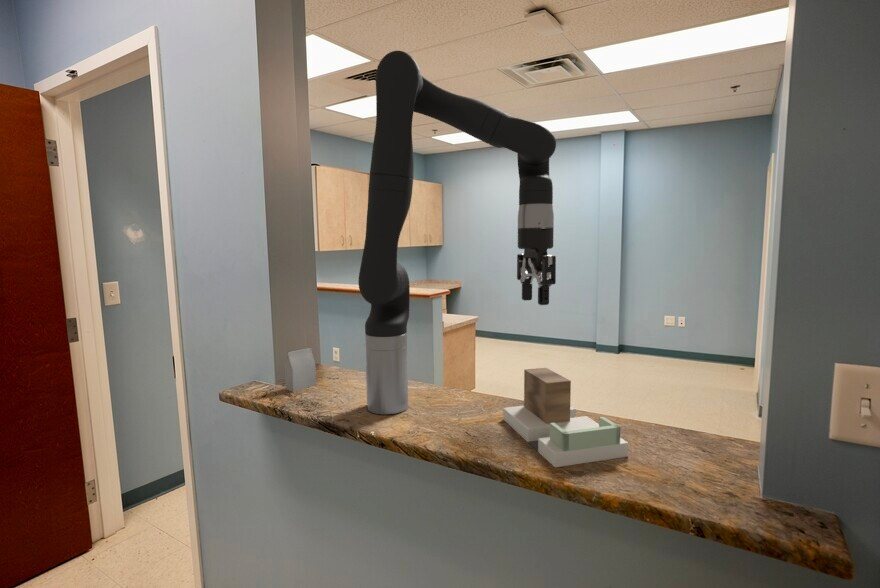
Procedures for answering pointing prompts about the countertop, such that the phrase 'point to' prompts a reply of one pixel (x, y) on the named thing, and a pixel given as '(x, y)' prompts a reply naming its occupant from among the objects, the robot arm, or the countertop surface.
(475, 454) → the countertop surface
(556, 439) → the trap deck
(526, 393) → the walnut block
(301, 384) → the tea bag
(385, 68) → the robot arm
